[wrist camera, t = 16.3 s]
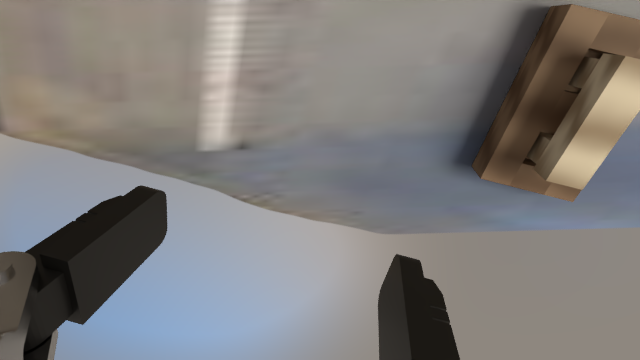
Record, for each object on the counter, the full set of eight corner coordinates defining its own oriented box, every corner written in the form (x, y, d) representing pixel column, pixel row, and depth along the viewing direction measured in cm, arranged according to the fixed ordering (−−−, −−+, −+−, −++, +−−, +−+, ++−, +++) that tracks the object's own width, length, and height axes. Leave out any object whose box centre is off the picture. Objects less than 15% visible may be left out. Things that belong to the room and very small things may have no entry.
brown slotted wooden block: (550, 6, 34) (571, 4, 30) (659, 31, 33) (694, 32, 30) (471, 165, 43) (480, 178, 40) (556, 187, 43) (573, 202, 39)
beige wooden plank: (573, 49, 34) (625, 55, 27) (609, 58, 34) (670, 66, 27) (515, 153, 41) (545, 180, 33) (545, 161, 40) (582, 190, 33)
